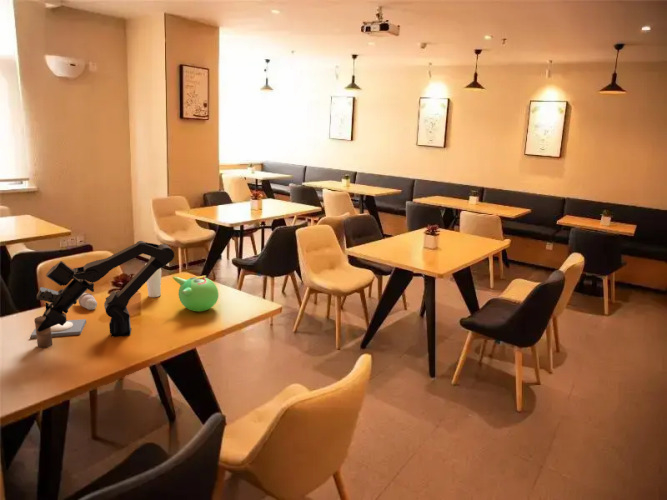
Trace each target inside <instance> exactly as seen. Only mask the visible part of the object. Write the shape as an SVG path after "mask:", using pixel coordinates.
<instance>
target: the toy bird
mask: <svg viewBox="0 0 667 500" xmlns="http://www.w3.org/2000/svg"><path fill="white" fill-rule="evenodd" d="M172 279H173V281H175V282H176V283H177V284H179V285H180V286H179V289H178V299H179V301H180V303H181V304H182V306H183V307H184V308H186V309H187V310H189V311H191V312H192V311H193V312H205V311H207V310H209V309H211V308H212V307H214V306H215V305H216V304H217V302H218V299H219V289H218V287H217V285H216V284H215V282H213V281H212V280H211V279H209V278H208V277H207V275H201V276H193V277H189V278H187V279H184V278H182V277H178V276H173V277H172Z"/></svg>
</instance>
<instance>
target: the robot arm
mask: <svg viewBox="0 0 667 500" xmlns="http://www.w3.org/2000/svg"><path fill="white" fill-rule="evenodd" d="M142 254H143V255H146V256H149V260H148V261H147V262H146V263H147V264H146V263H145V264H146V265H145V264H144V266H143V267H142V268H141V269H140V270H139V271H138V272H137V273H136V274H135V275H134V276H133V277H132V279H130V280H129V282H127V284H125V286H124V287H123V288H122V289H120V290H119V291H117V292H116V291H115V290H113V291H112V292H111V293H110V294H109V295H108V296H107V297H105V301H104V305H103V306H104V311H105V313H106V315H107V316H108V317H110V321H109V324H108V325H109V334H110V337H111V338H117V337H128V336H131V332H132V326H131V315H130V314H131V313H130V312H129V309H128V307H127V306H128V304H129V302H130V300H131V299H132V297H134V295H136V293H137V292H138V291H140V289H141V287H143V286H144V285H145V284H146V283H147V280H148V279H149V278H150V277H151V276H152V275H153V274H154V273H155V272H156V271H157V270H158V269H160V268H161V269H162V268H164V267H165V266H166V265H168V264H169V263H170V262H172V261H173V260H174V258H175V252H174V250H173V249H172V248H171V247H170V245H168V244H166V243H161V244H156V243H154V242H147V241H143V240H139V241H137V242H136V243H134V244H132V245H130V246H128V247H125V248H124V249H121V250H120V251H118V252H116V253H114V254H112V255H109V256H108V257H106V258H101V259H97V260H93V261H91V262H87V263H86V264H85V265H82V266H77V267H73V268H71V267H70V266H69V265H67V264H66V263H65V262H64V261H62V260H60V261H59V262H58V263H56V264H55V265H53V266H52V267H51V268H50V269H49V270H48V271H47V273H46V274H45V277H47V278H48V279H49V280H51V281H53V282H54V283H55V284H57V285H59V286H65V287H64V288H62V289H61V288H60V289H59V290H54V289H51V288H47V287H42V286H41V287H39V290H38V292H37V294H36V300H38V301H43V302H45V303H44V304H45V305H44V308H45V310H44V313H42V315H41V316H46V317H45V319H44V320H43V322H42V323H41V324H40V326H39V327H38V329H37V331H39V332H40V331H43V330H45V329H47V328H50V327H52V326H54V325H57V324H60V325H62V326H63V325H64V324H65V323H66V322H67V320H68V319H67V313H69V310H70V309H71V307H72V306H74V305H76V304H77V303H78V301H79V300H78V299H79V298H80V297H81V296H82V295H83V293H86V291H87V290H89V291H90V292H92V293H93V292H95V289H94V288H95V287H94V286H95V283H96V282H98V281H100V280H101V279H102V278H104V277H105V276H106V275H107V274H108V273H109V272H110V271H112V270H113V269H116V268H117V267H119V266H120V265H123V264H125V263H127V262H128V261H132V259H135V258H136V257H138V256H141V255H142Z"/></svg>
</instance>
